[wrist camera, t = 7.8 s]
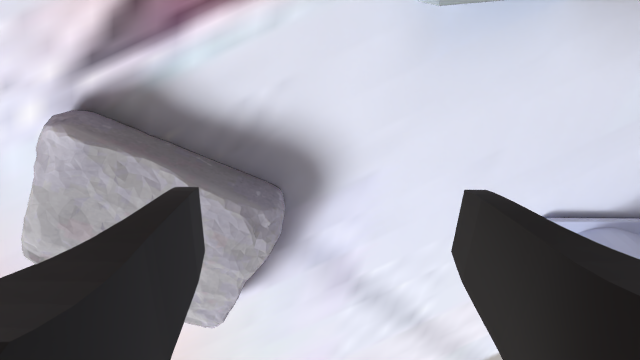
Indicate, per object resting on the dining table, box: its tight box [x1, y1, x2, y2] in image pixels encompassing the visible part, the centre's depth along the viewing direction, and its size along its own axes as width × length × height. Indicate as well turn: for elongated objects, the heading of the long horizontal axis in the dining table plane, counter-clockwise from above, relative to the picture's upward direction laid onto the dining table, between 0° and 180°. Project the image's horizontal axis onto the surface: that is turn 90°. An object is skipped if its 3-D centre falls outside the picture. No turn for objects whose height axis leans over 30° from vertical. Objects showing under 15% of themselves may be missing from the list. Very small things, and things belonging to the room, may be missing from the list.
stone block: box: [21, 110, 285, 328], centre depth 22 cm, size 12×5×10 cm
